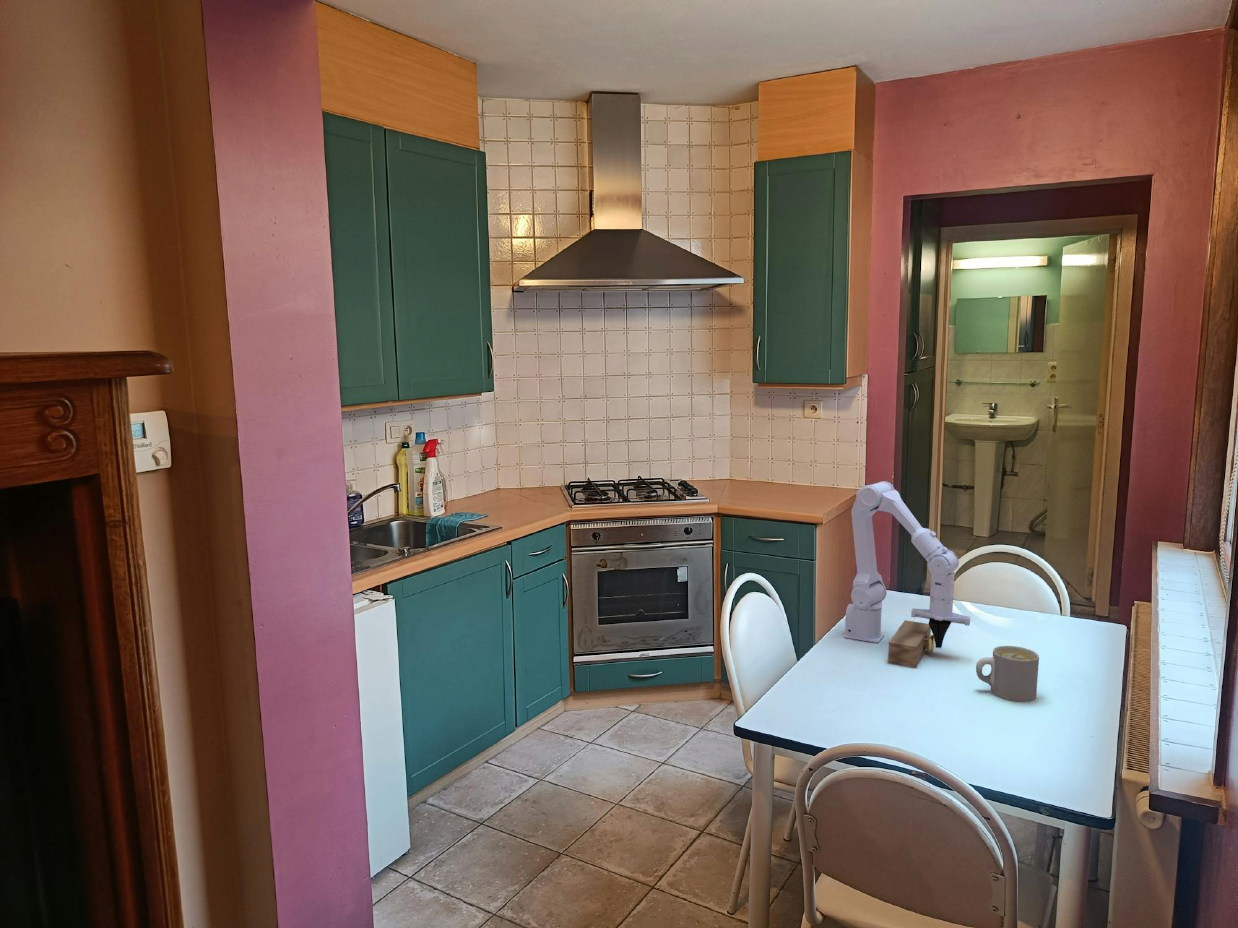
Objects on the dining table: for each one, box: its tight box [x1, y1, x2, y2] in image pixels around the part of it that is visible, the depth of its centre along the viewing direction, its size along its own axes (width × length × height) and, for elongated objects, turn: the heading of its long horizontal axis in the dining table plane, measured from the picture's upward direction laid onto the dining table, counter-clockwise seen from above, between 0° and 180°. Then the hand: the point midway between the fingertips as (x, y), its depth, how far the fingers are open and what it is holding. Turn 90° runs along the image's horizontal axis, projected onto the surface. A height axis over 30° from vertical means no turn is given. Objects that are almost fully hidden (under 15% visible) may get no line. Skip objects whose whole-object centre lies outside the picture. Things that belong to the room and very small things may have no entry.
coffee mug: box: [975, 645, 1040, 703], centre depth 206 cm, size 13×10×10 cm
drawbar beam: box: [887, 619, 932, 669], centre depth 232 cm, size 7×20×6 cm, turn 151°
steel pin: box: [924, 634, 935, 654], centre depth 233 cm, size 9×5×5 cm, turn 61°
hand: (938, 646), depth 230 cm, fingers closed
